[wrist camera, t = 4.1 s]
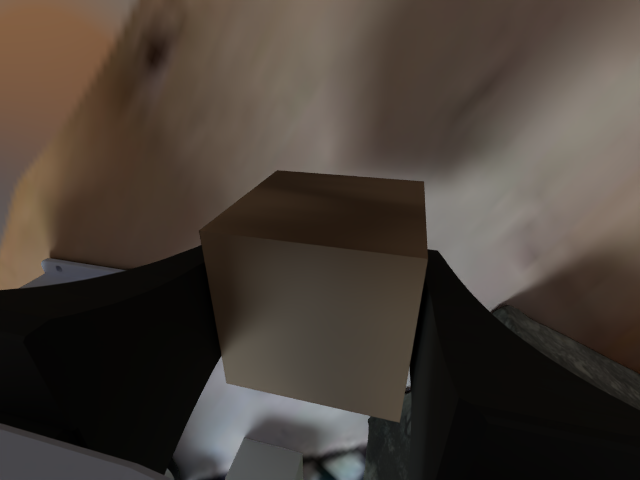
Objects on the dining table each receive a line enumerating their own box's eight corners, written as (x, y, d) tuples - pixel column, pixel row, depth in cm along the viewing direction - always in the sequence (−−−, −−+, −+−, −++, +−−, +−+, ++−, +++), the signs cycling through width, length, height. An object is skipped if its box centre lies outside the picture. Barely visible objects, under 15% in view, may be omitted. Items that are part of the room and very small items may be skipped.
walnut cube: (283, 286, 14) (226, 383, 10) (277, 170, 12) (199, 230, 8) (405, 305, 13) (399, 422, 9) (424, 181, 11) (427, 258, 7)
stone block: (356, 425, 24) (341, 507, 20) (494, 287, 17) (521, 370, 12) (466, 486, 24) (476, 583, 20) (654, 376, 17) (739, 492, 12)
